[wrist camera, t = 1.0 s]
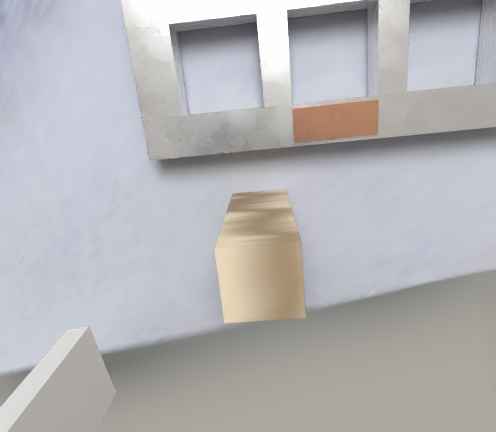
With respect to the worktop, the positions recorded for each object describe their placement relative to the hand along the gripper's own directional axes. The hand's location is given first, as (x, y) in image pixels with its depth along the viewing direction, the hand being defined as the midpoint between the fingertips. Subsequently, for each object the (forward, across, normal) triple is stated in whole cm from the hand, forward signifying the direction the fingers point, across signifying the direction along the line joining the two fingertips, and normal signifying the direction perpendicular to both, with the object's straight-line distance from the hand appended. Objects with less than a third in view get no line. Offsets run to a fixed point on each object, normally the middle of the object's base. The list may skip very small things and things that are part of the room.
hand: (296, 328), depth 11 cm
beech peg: (+19, -1, -2) cm, 19 cm away
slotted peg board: (+19, +6, +9) cm, 22 cm away
